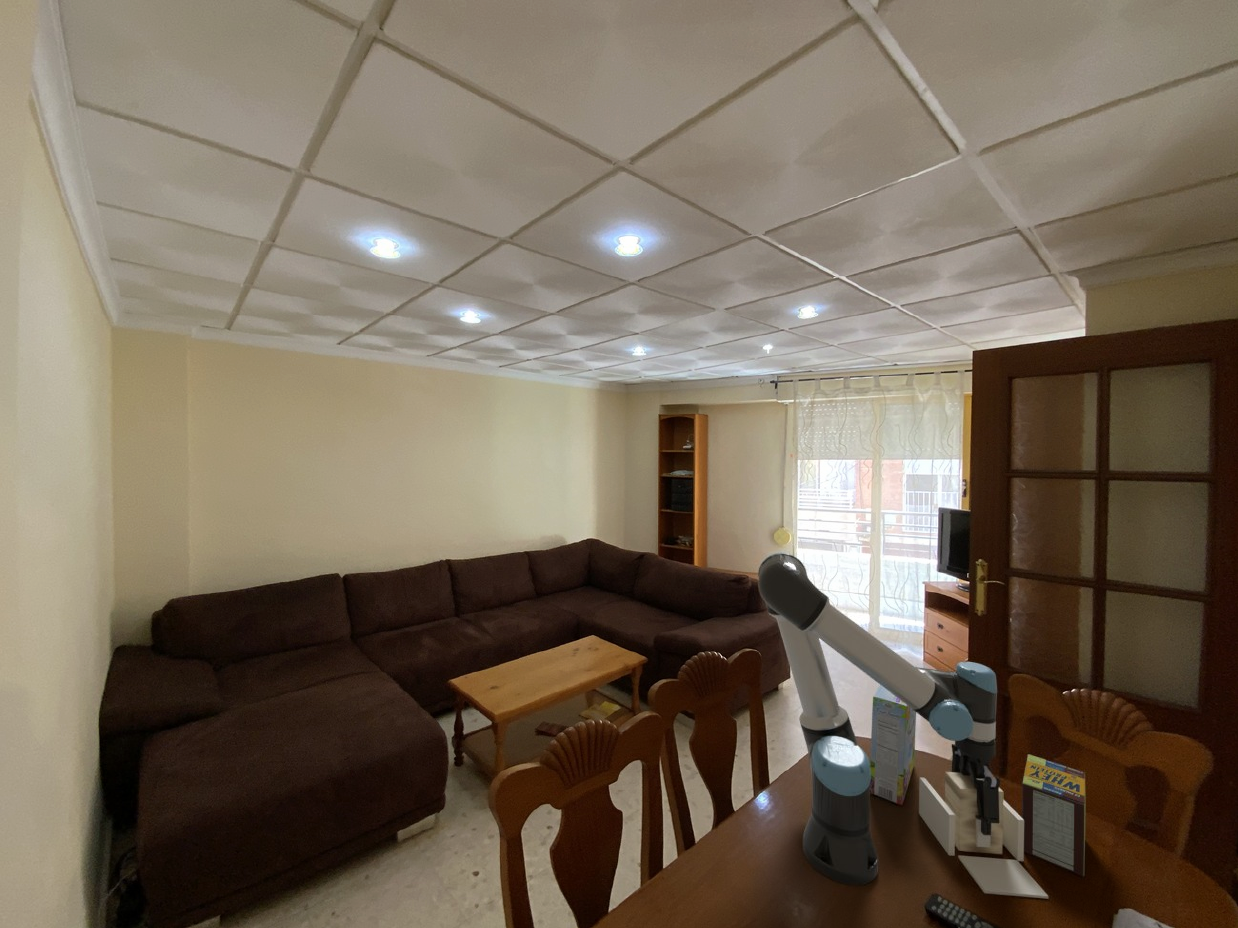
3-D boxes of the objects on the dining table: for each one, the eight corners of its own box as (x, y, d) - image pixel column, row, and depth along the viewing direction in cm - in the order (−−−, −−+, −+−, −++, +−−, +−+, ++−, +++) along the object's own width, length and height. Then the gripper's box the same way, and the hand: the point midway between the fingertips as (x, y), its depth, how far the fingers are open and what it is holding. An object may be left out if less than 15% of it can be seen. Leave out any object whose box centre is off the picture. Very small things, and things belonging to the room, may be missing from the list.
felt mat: (984, 892, 100) (984, 890, 100) (958, 857, 109) (958, 855, 109) (1048, 898, 99) (1048, 895, 99) (1016, 862, 108) (1016, 859, 108)
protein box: (1084, 837, 115) (1085, 771, 115) (1084, 878, 104) (1085, 804, 104) (1026, 815, 123) (1027, 752, 123) (1020, 850, 111) (1021, 781, 111)
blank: (959, 850, 111) (960, 788, 111) (944, 830, 117) (945, 771, 117) (1002, 854, 110) (1003, 791, 110) (985, 833, 116) (986, 774, 116)
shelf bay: (948, 854, 110) (949, 814, 110) (918, 813, 123) (919, 777, 123) (1023, 861, 108) (1024, 819, 108) (985, 818, 121) (985, 781, 121)
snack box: (906, 808, 125) (907, 706, 124) (867, 794, 130) (869, 696, 130) (917, 766, 142) (918, 676, 142) (883, 755, 147) (884, 668, 147)
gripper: (1023, 759, 104) (1020, 869, 104) (966, 713, 123) (964, 806, 123) (985, 757, 104) (982, 867, 104) (934, 711, 123) (932, 804, 123)
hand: (973, 833), depth 114 cm, fingers closed on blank, 6 cm apart
